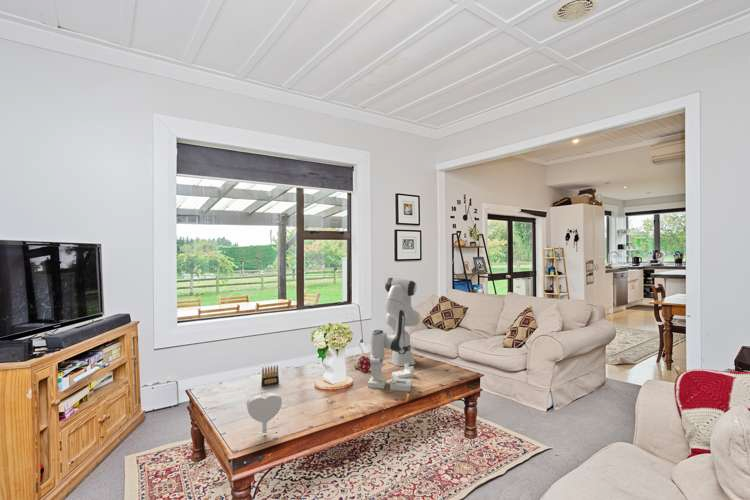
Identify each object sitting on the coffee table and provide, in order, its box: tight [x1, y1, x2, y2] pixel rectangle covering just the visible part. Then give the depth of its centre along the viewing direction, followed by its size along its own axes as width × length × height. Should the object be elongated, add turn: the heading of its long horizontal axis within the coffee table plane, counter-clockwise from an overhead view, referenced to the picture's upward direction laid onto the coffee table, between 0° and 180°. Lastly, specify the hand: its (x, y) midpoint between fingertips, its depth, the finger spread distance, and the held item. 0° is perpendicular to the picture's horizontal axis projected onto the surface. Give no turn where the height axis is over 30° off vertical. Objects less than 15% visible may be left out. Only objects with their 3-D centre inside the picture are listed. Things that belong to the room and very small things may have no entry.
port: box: [389, 377, 413, 394], centre depth 233 cm, size 12×12×5 cm
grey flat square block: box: [367, 376, 387, 390], centre depth 236 cm, size 10×10×4 cm
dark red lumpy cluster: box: [353, 355, 371, 373], centre depth 266 cm, size 11×11×15 cm
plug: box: [372, 369, 383, 382], centre depth 236 cm, size 3×5×11 cm, turn 79°
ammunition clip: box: [260, 364, 280, 387], centre depth 238 cm, size 11×2×12 cm, turn 118°
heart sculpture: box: [246, 392, 283, 434], centre depth 178 cm, size 16×5×18 cm, turn 116°
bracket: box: [391, 364, 415, 379], centre depth 253 cm, size 13×7×8 cm, turn 120°
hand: (377, 378), depth 236 cm, fingers open, 8 cm apart
